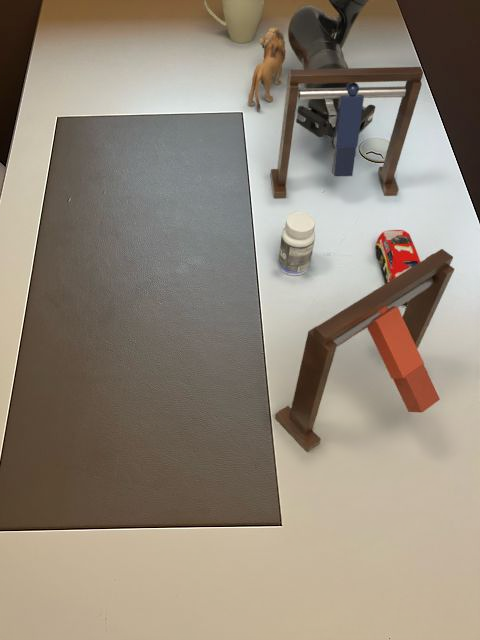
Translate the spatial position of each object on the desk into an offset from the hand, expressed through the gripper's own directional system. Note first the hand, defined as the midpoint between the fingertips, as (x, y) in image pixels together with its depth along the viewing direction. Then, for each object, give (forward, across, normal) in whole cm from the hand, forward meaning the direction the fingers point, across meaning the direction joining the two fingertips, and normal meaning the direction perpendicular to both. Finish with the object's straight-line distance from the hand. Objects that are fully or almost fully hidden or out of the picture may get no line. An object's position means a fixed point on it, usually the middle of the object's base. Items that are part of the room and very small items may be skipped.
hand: (343, 147), depth 95 cm
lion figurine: (-30, -9, +8) cm, 32 cm away
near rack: (+40, -3, +8) cm, 41 cm away
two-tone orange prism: (+47, +2, -1) cm, 47 cm away
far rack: (-1, 0, +8) cm, 8 cm away
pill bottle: (+17, -8, +8) cm, 20 cm away
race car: (+19, +7, +8) cm, 22 cm away
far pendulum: (+3, 0, +3) cm, 4 cm away
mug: (-49, -14, +8) cm, 52 cm away
